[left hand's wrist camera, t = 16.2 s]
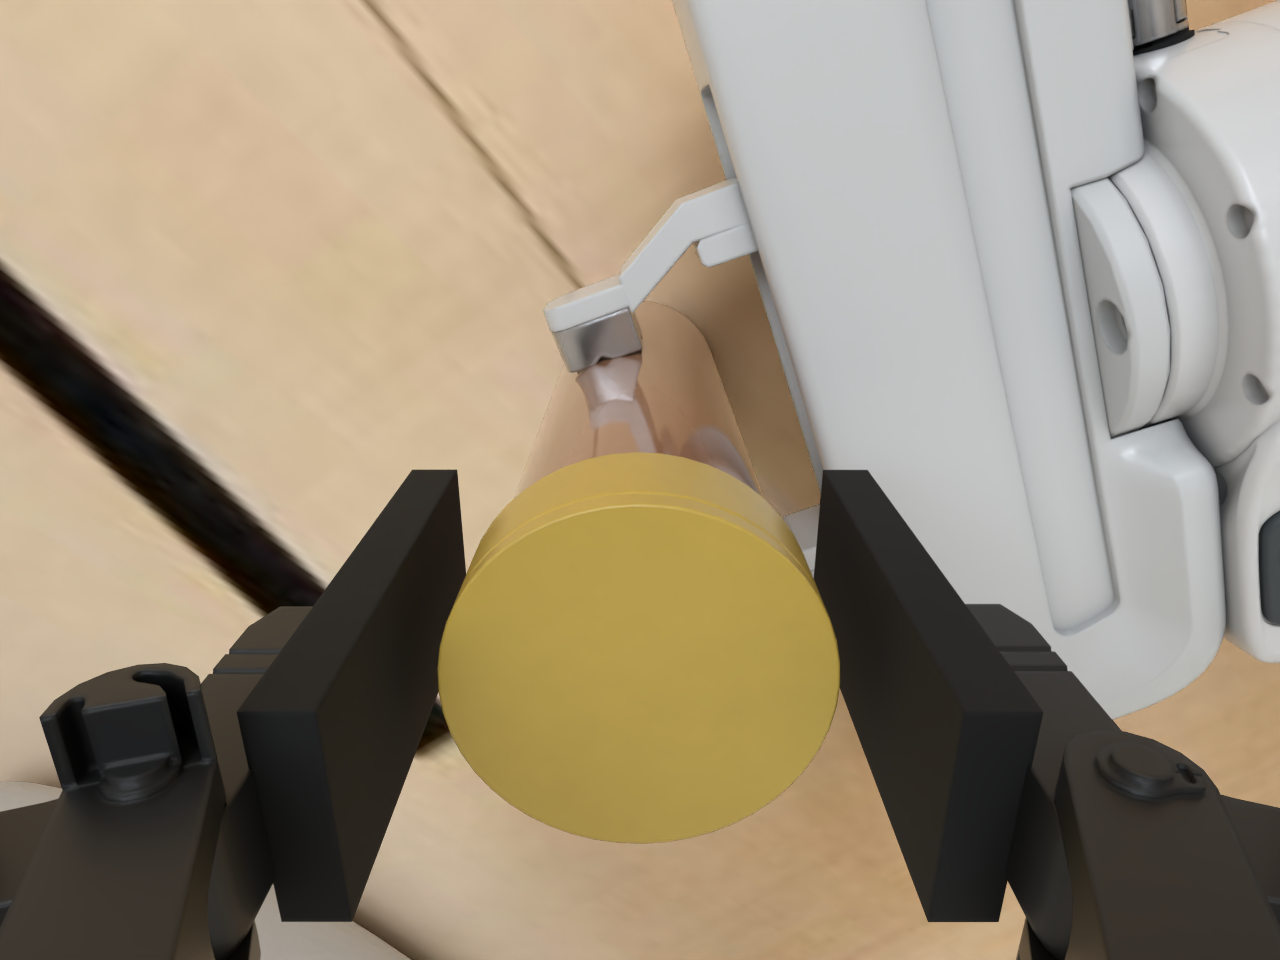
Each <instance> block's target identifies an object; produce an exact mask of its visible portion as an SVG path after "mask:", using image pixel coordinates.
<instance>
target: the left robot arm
mask: <svg viewBox="0 0 1280 960" xmlns="http://www.w3.org/2000/svg"><path fill="white" fill-rule="evenodd" d="M465 576H466V568H465V556H464V545H463V533H462V521H461V510H460V498H459V487H458V475H457V470H412V471H411V472H410V474H409V475H408V477H407V478H406V479H405V481H404V482H403V483H402V485H401V486H400V488H399V489H398V490H397V492H396V493H395V494H394V496H393V497H392V499H391V500H390V501H389V503H388V504H387V505H386V507H385V508H384V510H383V511H382V512H381V514H380V515H379V516H378V518H377V519H376V521H375V522H374V523H373V525H372V526H371V527H370V529H369V530H368V532H367V533H366V534H365V536H364V537H363V538H362V540H361V541H360V543H359V544H358V545H357V547H356V548H355V550H354V551H353V552H352V554H351V555H350V556H349V558H348V559H347V561H346V562H345V563H344V565H343V566H342V567H341V569H340V570H339V572H338V573H337V574H336V576H335V577H334V578H333V580H332V581H331V583H330V584H329V585H328V587H327V588H326V589H325V591H324V592H323V594H322V595H321V596H320V598H319V599H318V600H317V602H316V603H315V605H314V606H313V607H279V608H277V609H276V610H274V611H273V612H271V613H269V614H268V615H266V616H265V617H263V618H261V619H260V620H258V621H257V622H255V623H254V624H252V625H250V626H249V627H248V628H247V629H246V630H245V632H244V633H243V634H242V635H241V636H240V638H239V639H238V640H237V641H236V642H235V644H234V645H233V646H232V647H231V648H230V650H229V654H225V656H224V657H223V658H222V659H221V660H220V662H219V663H218V664H217V665H216V666H215V668H214V669H213V674H209V675H208V676H207V677H206V678H205V680H204V681H203V682H202V683H201V684H200V680H199V676H197V675H196V674H195V673H193V672H192V671H191V670H189V669H188V668H187V667H183V666H178V665H172V664H167V663H160V664H144V665H135V666H131V667H127V668H123V669H119V670H115V671H111V672H107V673H105V674H102V675H100V676H98V677H95V678H93V679H91V680H88V681H86V682H83V683H81V684H79V685H77V686H76V687H74V688H73V689H71V690H69V691H68V692H66V693H65V694H63V695H62V696H60V697H59V698H57V699H56V700H54V701H53V703H52V704H51V705H50V706H49V707H48V708H47V709H46V711H45V712H44V713H43V714H42V715H41V716H40V717H39V718H40V721H41V724H42V727H43V730H44V734H45V737H46V740H47V743H48V746H49V749H50V752H51V755H52V759H53V762H54V765H55V768H56V771H57V774H58V777H59V780H60V783H61V787H62V792H61V794H60V797H59V799H55V800H51V801H48V802H44V803H39V804H34V805H29V806H25V807H20V808H15V809H11V810H6V811H1V812H0V960H260V957H261V950H260V943H259V937H258V932H257V928H256V923H255V918H256V916H257V914H258V912H259V910H260V908H261V906H262V904H263V902H264V900H265V898H266V896H267V894H268V892H269V890H270V888H271V886H272V884H273V885H274V889H275V894H276V899H277V903H278V908H279V913H280V917H281V922H352V920H353V918H354V915H355V912H356V910H357V907H358V904H359V902H360V899H361V896H362V894H363V891H364V888H365V886H366V883H367V880H368V878H369V875H370V872H371V870H372V867H373V864H374V862H375V859H376V856H377V854H378V851H379V848H380V846H381V843H382V840H383V838H384V835H385V833H386V830H387V827H388V825H389V822H390V819H391V817H392V814H393V811H394V809H395V806H396V803H397V801H398V798H399V795H400V793H401V790H402V787H403V785H404V782H405V779H406V777H407V774H408V771H409V769H410V766H411V763H412V761H413V758H414V755H415V753H416V750H417V748H418V745H419V742H420V740H421V737H422V734H423V732H424V729H425V726H426V724H427V721H428V718H429V716H430V713H431V710H432V708H433V705H434V702H435V700H436V697H437V694H438V692H439V691H438V671H437V667H438V658H439V649H440V643H441V640H442V636H443V632H444V628H445V625H446V622H447V620H448V617H449V615H450V612H451V610H452V608H453V605H454V603H455V600H456V598H457V596H458V593H459V591H460V588H461V586H462V584H463V581H464V579H465ZM814 581H815V583H816V586H817V588H818V590H819V593H820V595H821V598H822V600H823V603H824V605H825V607H826V610H827V612H828V615H829V617H830V620H831V623H832V626H833V630H834V633H835V636H836V639H837V645H838V651H839V658H840V689H841V692H842V694H843V697H844V700H845V702H846V705H847V708H848V710H849V713H850V716H851V718H852V721H853V724H854V726H855V729H856V732H857V734H858V737H859V740H860V742H861V745H862V748H863V750H864V753H865V756H866V758H867V761H868V763H869V766H870V769H871V771H872V774H873V777H874V779H875V782H876V785H877V787H878V790H879V793H880V795H881V798H882V801H883V803H884V806H885V809H886V811H887V814H888V817H889V819H890V822H891V825H892V827H893V830H894V833H895V835H896V838H897V841H898V843H899V846H900V848H901V851H902V854H903V856H904V859H905V862H906V864H907V867H908V870H909V872H910V875H911V878H912V880H913V883H914V886H915V888H916V891H917V894H918V896H919V899H920V902H921V904H922V907H923V910H924V912H925V915H926V918H927V920H928V922H999V917H1000V912H1001V908H1002V903H1003V898H1004V894H1005V889H1006V885H1007V880H1008V882H1009V884H1010V886H1011V888H1012V890H1013V892H1014V894H1015V896H1016V898H1017V900H1018V902H1019V904H1020V906H1021V908H1022V910H1023V912H1024V914H1025V916H1026V919H1025V923H1024V928H1023V932H1022V936H1021V941H1020V945H1019V949H1018V954H1017V958H1016V960H1280V808H1277V807H1273V806H1268V805H1263V804H1258V803H1254V802H1249V801H1244V800H1240V799H1235V798H1231V797H1228V796H1224V795H1220V793H1219V791H1218V789H1217V787H1216V786H1215V785H1214V783H1213V782H1212V780H1211V779H1210V778H1209V776H1208V775H1207V774H1206V772H1205V771H1204V770H1203V769H1202V768H1200V767H1199V766H1198V765H1196V764H1195V763H1194V762H1192V761H1191V760H1190V759H1188V758H1187V757H1186V756H1184V755H1183V754H1182V753H1180V752H1178V751H1176V750H1174V749H1172V748H1170V747H1168V746H1166V745H1163V744H1161V743H1159V742H1157V741H1155V740H1153V739H1149V738H1146V737H1142V736H1139V735H1135V734H1131V733H1128V732H1123V731H1121V730H1120V728H1119V727H1118V726H1117V725H1116V724H1115V722H1114V721H1113V720H1112V719H1111V718H1110V716H1109V715H1108V714H1107V713H1106V712H1105V710H1104V709H1103V708H1102V707H1101V706H1100V705H1099V703H1098V702H1097V701H1096V700H1095V699H1094V697H1093V696H1092V695H1091V694H1090V693H1089V691H1088V690H1087V689H1086V688H1085V687H1084V685H1083V684H1082V683H1081V682H1080V681H1079V679H1078V678H1077V677H1076V676H1075V675H1074V674H1073V672H1072V671H1068V670H1067V665H1066V664H1065V663H1064V662H1063V660H1062V659H1061V658H1060V657H1059V656H1058V654H1057V653H1056V652H1052V651H1051V646H1050V645H1049V644H1048V643H1047V641H1046V640H1045V639H1044V638H1043V637H1042V635H1041V634H1040V633H1039V632H1038V631H1037V629H1036V628H1035V627H1034V626H1033V625H1032V624H1031V623H1030V622H1028V621H1027V620H1025V619H1023V618H1022V617H1020V616H1019V615H1017V614H1015V613H1014V612H1012V611H1011V610H1009V609H1007V608H1006V607H1004V606H1003V605H1001V604H965V603H964V602H963V600H962V599H961V598H960V596H959V595H958V594H957V592H956V591H955V589H954V588H953V587H952V585H951V584H950V583H949V581H948V580H947V578H946V577H945V576H944V574H943V573H942V572H941V570H940V569H939V567H938V566H937V565H936V563H935V562H934V561H933V559H932V558H931V556H930V555H929V554H928V552H927V551H926V550H925V548H924V547H923V545H922V544H921V543H920V541H919V540H918V539H917V537H916V536H915V534H914V533H913V532H912V530H911V529H910V528H909V526H908V525H907V523H906V522H905V521H904V519H903V518H902V516H901V515H900V514H899V512H898V511H897V510H896V508H895V507H894V505H893V504H892V503H891V501H890V500H889V499H888V497H887V496H886V494H885V493H884V492H883V490H882V489H881V488H880V486H879V485H878V483H877V482H876V481H875V479H874V478H873V477H872V475H871V474H870V472H869V471H868V470H823V475H822V486H821V498H820V510H819V521H818V533H817V544H816V556H815V568H814Z"/></svg>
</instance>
